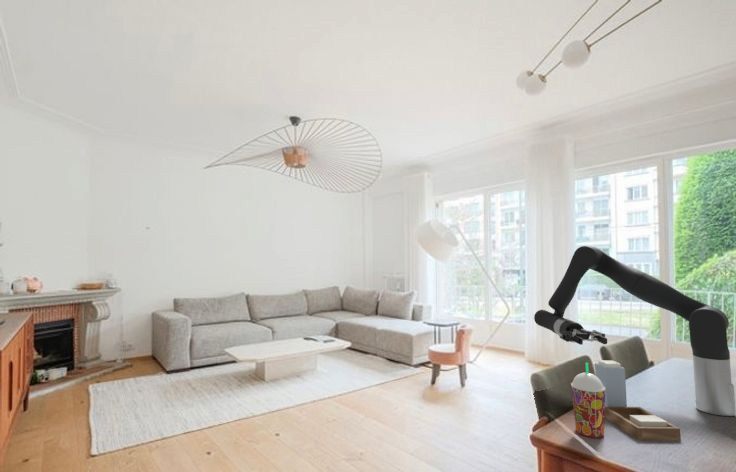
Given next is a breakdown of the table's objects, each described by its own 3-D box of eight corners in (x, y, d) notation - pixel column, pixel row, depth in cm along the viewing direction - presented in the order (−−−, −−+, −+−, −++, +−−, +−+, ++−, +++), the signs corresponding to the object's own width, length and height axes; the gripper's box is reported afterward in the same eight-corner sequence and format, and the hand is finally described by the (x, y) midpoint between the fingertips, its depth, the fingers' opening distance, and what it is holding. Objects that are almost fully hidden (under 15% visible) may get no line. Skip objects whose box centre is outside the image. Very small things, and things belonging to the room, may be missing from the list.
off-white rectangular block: (630, 429, 110) (629, 415, 111) (655, 429, 110) (654, 415, 110) (641, 436, 106) (640, 421, 106) (667, 436, 106) (666, 421, 106)
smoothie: (566, 431, 112) (563, 359, 113) (594, 430, 113) (591, 359, 114) (585, 444, 104) (582, 367, 105) (615, 443, 104) (611, 366, 106)
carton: (597, 410, 128) (594, 359, 129) (615, 410, 128) (613, 359, 129) (607, 417, 122) (605, 364, 123) (627, 417, 122) (624, 364, 123)
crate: (603, 420, 120) (603, 406, 120) (640, 420, 120) (639, 406, 120) (638, 443, 104) (638, 428, 104) (681, 444, 104) (680, 428, 104)
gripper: (550, 320, 151) (573, 331, 135) (586, 319, 152) (614, 330, 136) (550, 339, 151) (573, 352, 135) (586, 339, 152) (614, 352, 136)
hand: (593, 341), depth 135 cm, fingers open, 8 cm apart
